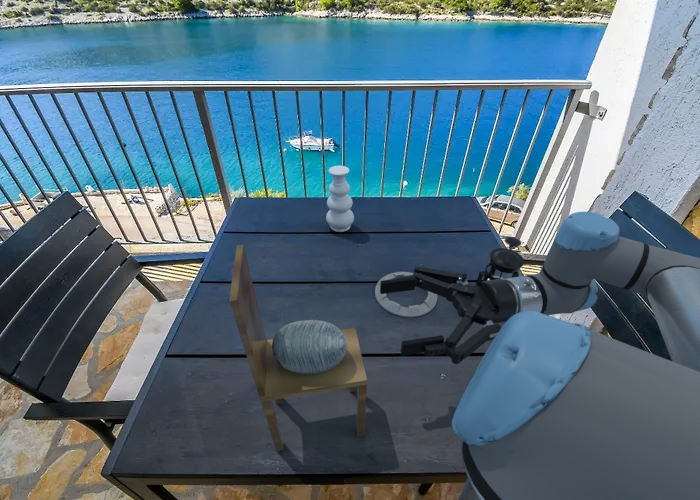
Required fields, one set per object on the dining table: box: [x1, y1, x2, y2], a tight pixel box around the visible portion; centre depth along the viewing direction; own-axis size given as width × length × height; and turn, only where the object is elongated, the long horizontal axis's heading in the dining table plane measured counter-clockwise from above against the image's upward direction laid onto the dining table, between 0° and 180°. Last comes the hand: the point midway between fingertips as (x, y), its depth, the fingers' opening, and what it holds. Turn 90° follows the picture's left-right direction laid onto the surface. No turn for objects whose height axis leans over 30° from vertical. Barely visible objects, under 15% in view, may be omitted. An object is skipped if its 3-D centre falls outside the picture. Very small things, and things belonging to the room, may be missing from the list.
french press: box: [475, 236, 525, 285], centre depth 100 cm, size 12×9×23 cm
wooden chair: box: [228, 244, 368, 452], centre depth 65 cm, size 12×19×46 cm, turn 100°
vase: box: [325, 165, 355, 233], centre depth 131 cm, size 11×11×25 cm
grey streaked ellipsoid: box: [272, 319, 347, 374], centre depth 64 cm, size 14×10×10 cm
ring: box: [374, 271, 438, 319], centre depth 109 cm, size 19×19×2 cm
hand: (390, 315), depth 59 cm, fingers open, 13 cm apart
